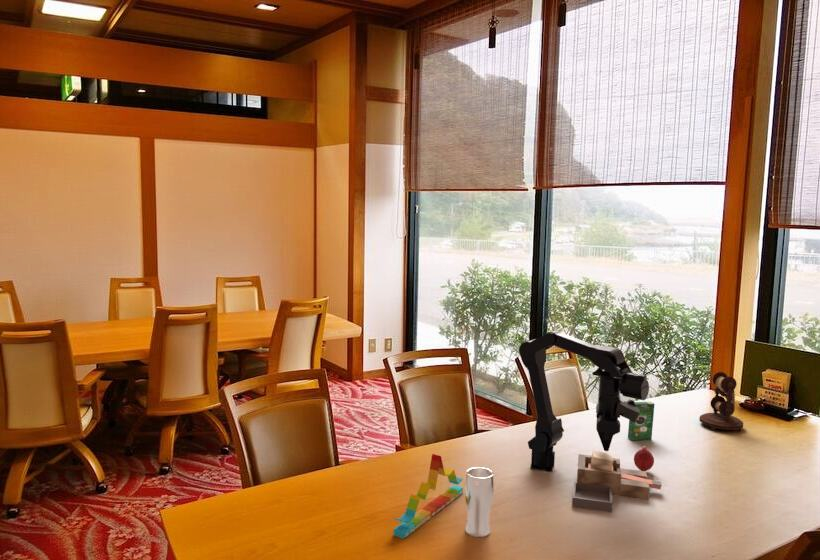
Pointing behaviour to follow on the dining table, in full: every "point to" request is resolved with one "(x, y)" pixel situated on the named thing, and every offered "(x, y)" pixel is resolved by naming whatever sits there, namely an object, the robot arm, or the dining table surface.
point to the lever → (639, 479)
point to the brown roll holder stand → (723, 405)
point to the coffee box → (642, 422)
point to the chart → (418, 518)
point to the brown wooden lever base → (613, 479)
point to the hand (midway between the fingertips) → (606, 445)
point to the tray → (592, 497)
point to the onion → (643, 459)
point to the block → (601, 460)
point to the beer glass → (478, 500)
